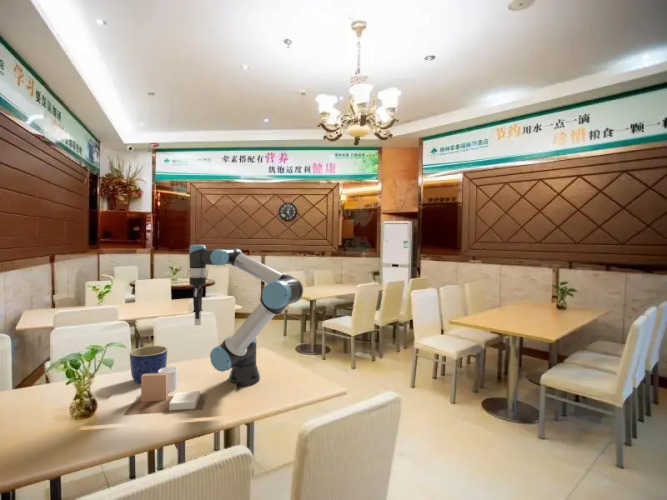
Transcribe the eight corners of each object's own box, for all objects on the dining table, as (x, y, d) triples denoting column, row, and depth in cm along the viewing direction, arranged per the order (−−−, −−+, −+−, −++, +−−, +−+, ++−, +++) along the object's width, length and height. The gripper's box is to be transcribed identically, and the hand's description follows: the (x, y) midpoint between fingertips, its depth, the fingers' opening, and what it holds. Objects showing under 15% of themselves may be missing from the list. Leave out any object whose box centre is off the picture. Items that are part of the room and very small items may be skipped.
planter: (170, 382, 185) (170, 352, 185) (131, 390, 176) (131, 358, 175) (164, 372, 199) (163, 344, 199) (127, 378, 190) (127, 349, 189)
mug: (150, 398, 167) (149, 375, 167) (148, 391, 174) (148, 369, 174) (178, 393, 173) (178, 370, 173) (176, 386, 180) (176, 365, 180)
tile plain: (167, 397, 165) (167, 372, 165) (166, 400, 162) (165, 375, 162) (143, 398, 164) (143, 373, 163) (141, 401, 161) (141, 376, 160)
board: (208, 396, 169) (208, 393, 169) (202, 412, 154) (202, 409, 154) (137, 400, 164) (137, 398, 164) (123, 418, 148) (123, 415, 148)
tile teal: (199, 391, 165) (195, 401, 154) (199, 398, 165) (195, 409, 154) (175, 392, 163) (169, 403, 152) (175, 399, 163) (169, 411, 152)
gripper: (192, 275, 187) (192, 322, 188) (186, 278, 174) (187, 328, 175) (207, 275, 188) (207, 321, 189) (203, 277, 176) (203, 327, 176)
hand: (197, 324), depth 182 cm, fingers closed
